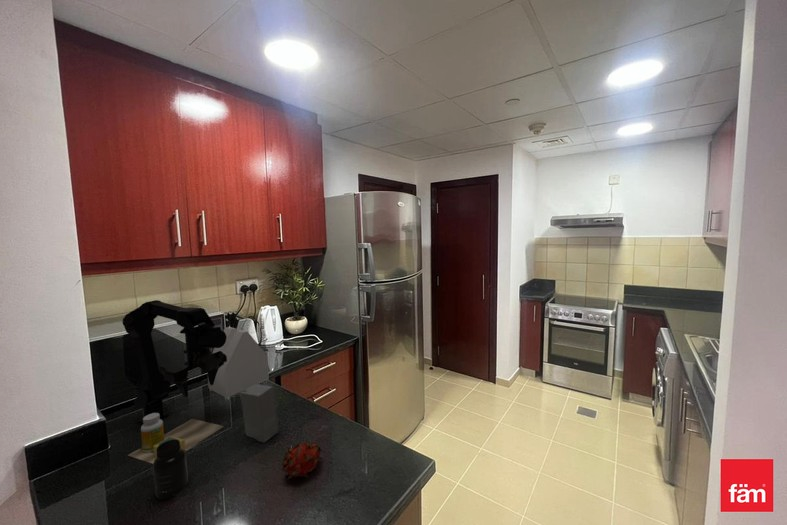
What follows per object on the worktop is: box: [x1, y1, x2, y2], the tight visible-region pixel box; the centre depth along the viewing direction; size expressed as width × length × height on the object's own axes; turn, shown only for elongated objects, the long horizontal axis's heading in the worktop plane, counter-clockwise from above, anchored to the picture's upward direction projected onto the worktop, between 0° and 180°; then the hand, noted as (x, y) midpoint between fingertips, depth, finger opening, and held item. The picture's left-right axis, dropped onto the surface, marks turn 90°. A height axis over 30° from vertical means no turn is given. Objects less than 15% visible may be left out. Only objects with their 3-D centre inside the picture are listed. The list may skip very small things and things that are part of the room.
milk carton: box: [207, 326, 270, 399], centre depth 139 cm, size 19×15×25 cm
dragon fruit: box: [281, 441, 322, 479], centre depth 84 cm, size 8×8×12 cm
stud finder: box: [153, 436, 185, 457], centre depth 92 cm, size 6×5×4 cm
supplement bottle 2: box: [152, 439, 189, 501], centre depth 79 cm, size 7×7×12 cm
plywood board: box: [127, 418, 224, 465], centre depth 98 cm, size 21×20×1 cm
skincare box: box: [239, 384, 280, 444], centre depth 100 cm, size 8×7×16 cm
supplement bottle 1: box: [140, 413, 165, 452], centre depth 95 cm, size 5×5×10 cm
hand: (199, 390), depth 107 cm, fingers open, 9 cm apart
